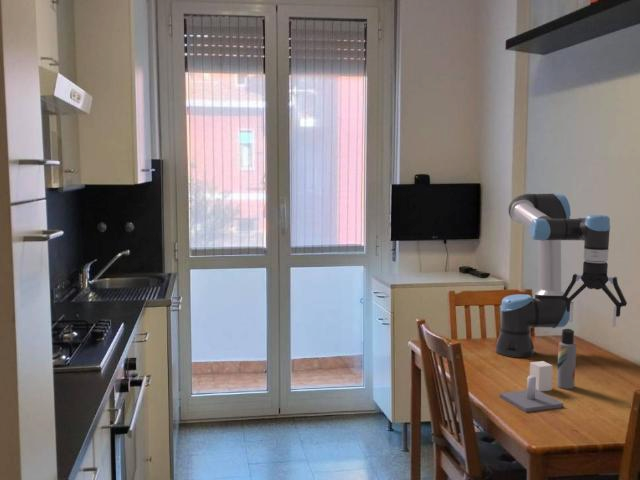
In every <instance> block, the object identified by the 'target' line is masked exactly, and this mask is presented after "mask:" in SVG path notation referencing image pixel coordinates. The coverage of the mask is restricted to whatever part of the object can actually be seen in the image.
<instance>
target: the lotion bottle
mask: <svg viewBox="0 0 640 480" xmlns="http://www.w3.org/2000/svg"><path fill="white" fill-rule="evenodd" d="M574 338H575V330H573V329H571V328H564V329H562V330H561V341H560V342H558V346H557V347H558V352H557V367H556V368H557V369H556V370H557V372H556V386H557V387H558V388H560V389H565V390H572V389H574V388H575V384H576V383H575V382H576V381H575V380H576V362H577V361H576V360H577V344H576V343H574V342H575V339H574Z"/></svg>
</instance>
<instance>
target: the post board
mask: <svg viewBox="0 0 640 480" xmlns="http://www.w3.org/2000/svg"><path fill="white" fill-rule="evenodd" d="M526 379H527V380H526V382H527V383H526V389H523V390H517V391H508V392H499V398H501V399H503V400H504V401H506V402H507V403H509V404H511V405H512V406H515V408H518V409H519V410H521V411H523V412H524V413H527V412H536V411H544V410H551V409H552V410H553V409H559V408H564V402H561V401H560V400H558V399H556V398H554V397H552V396H550V395H548V394H546V393H544V391H539V390H537V389H536V377H535V376H530V375H528V376H527V378H526Z"/></svg>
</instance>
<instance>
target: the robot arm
mask: <svg viewBox="0 0 640 480" xmlns="http://www.w3.org/2000/svg"><path fill="white" fill-rule="evenodd" d="M570 205H571V204H570V203H569V200H568V199H567V196H565V195H563V193H562V194H561V193H524V194H520V195H518V196H516V197H514V199H512V201H511V202H510V203H509V205H508V212H507V213H508V215H509V217H510V219H512V220H513V221H514V222H515V223H517V224H520V225H521V224H522V225H524V226H525V227H526V228H528V229H529V234H530V237H531V239H532V240H535V241H538V290H537V291H536V292H535V293H534V294H535V295H534V298H532V296H531V295H530V294H524V293H523V294H522V293H521V294H520V293H517V294H511V295H506V296H505V297H503V298H502V300H501V307H500V332H499V335H498V338H497V340H496V341H497V342H496V343H495V347H494V349H495V353H497V354H498V355H501V356H506V357H509V358H528V357H529V358H530V357H532V356H534V355H535V347H534V343H533V340H532V337H531V328H541V329H543V328H550V329H556V328H564V327H566V326H567V324H569V323H572V322H573V321H574V320H573V319H574V301H573V300H574V299H576V297H578V296H579V295H580V293H582V292H583V290H585V289H586V288H587V289H589V290H593V289H594V290H597V291H599V290H602V291H603V292H604V293H605V294H606V296H607V297H608V298H609V300H610V301H612V303H613V304H614V306H613V318H612V327H613V328H616V327H617V317H618V318H620V316H621V308H622V307H626V306H627V304H628V302H627V300H626V297H625V296H624V294H623V291H622V289H621V287H620V286H619V283H618V277H617V276H614V277H612V276H611V277H609V276H608V261H609V251H610V250H609V245H610V244H609V242H610V232H611V231H610V230H611V224H610V223H611V222H610V221H611V220H610V216H608V215H605V214H604V215H603V214H602V215H601V214H587V216H585V217H578V218H571V206H570ZM562 241H584V242H583V243H584V245H583V260H584V261H583V264H582V275H581V274H577V273H573V274H572V278H571V279H572V280H571V282H570V283H569V284H568V287H567V288H566V290H565V292H563V290H562ZM579 280H581V281H582V282H583V284H582V285H580V286H579V288H578V289H576V291H574V292H573V293H572V294H570V292H571V291H572V289H573V287H574V286H575V283H576V282H578V281H579ZM608 282H610V284H611V285H612V286H613V288H614V289H615V291H616V294H617V296H618V299H619V300H618V299H617V297H616V296H615V295H614V294H613V292H612V291H611V290H610V289H609V287H608V286H607V285H606V284H607V283H608ZM569 294H570V296H569ZM568 296H569V297H568Z"/></svg>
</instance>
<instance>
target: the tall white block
mask: <svg viewBox="0 0 640 480" xmlns="http://www.w3.org/2000/svg"><path fill="white" fill-rule="evenodd" d="M553 367H554V366H553V364H550V363H548V362H546V361H544V360H541V361H540V360H539V361H531V362H529V376H535V377H536V389H537V390H539V391H541V392H547V391H552V389H553V370H554V369H553Z"/></svg>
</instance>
